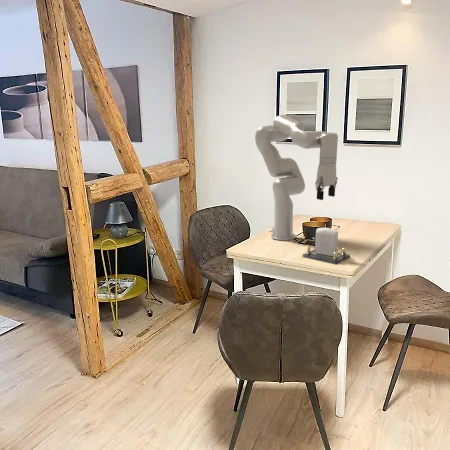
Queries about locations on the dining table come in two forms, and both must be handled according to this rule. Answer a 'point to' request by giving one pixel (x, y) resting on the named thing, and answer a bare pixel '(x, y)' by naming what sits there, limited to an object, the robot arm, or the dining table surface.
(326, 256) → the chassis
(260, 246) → the dining table surface
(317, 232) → the photo printer
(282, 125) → the robot arm
